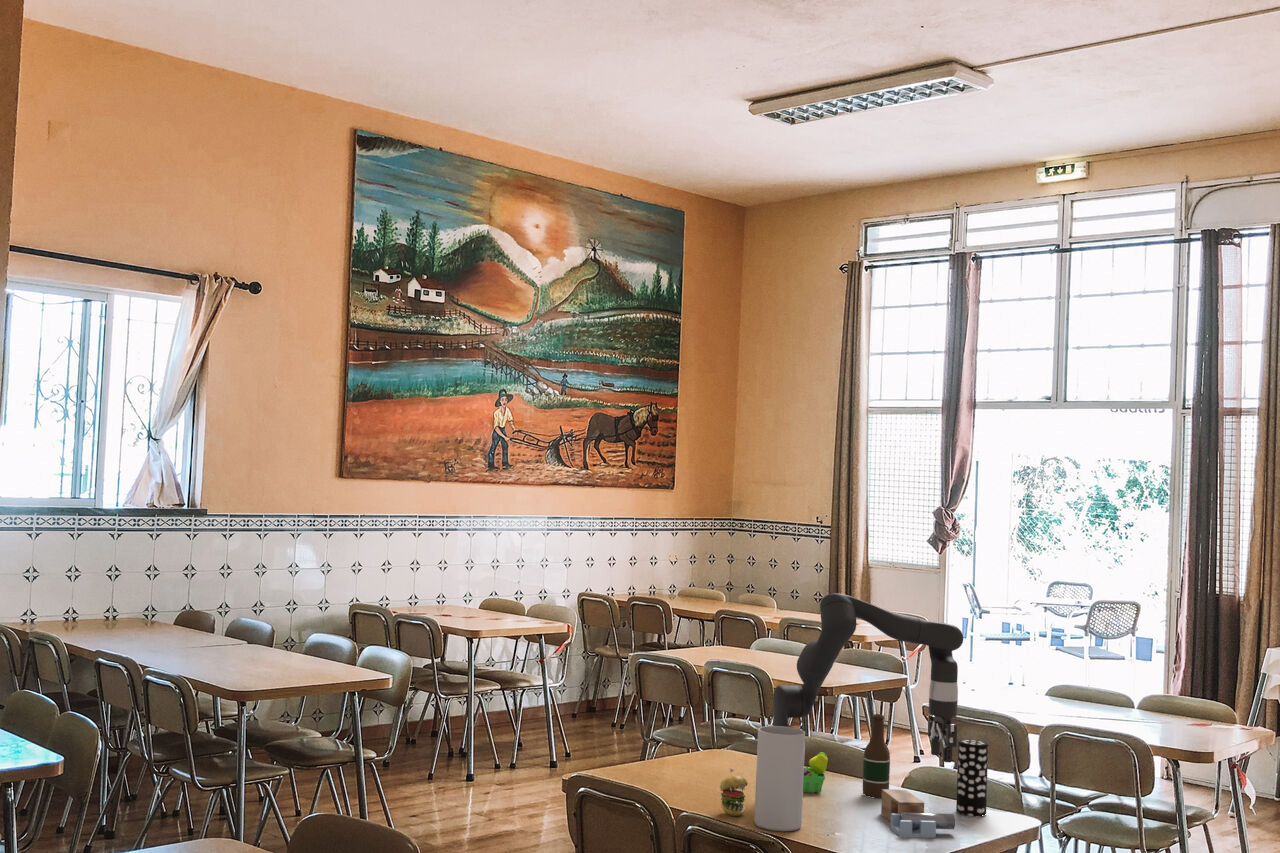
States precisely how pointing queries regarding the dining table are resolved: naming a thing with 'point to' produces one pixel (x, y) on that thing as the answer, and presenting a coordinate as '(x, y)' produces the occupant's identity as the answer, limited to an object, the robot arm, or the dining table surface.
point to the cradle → (905, 827)
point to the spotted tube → (972, 777)
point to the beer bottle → (876, 761)
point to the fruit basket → (815, 773)
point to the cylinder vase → (779, 778)
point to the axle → (930, 819)
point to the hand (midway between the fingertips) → (941, 758)
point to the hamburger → (733, 795)
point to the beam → (899, 803)
